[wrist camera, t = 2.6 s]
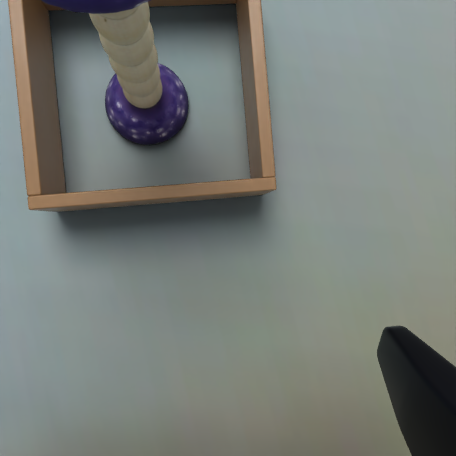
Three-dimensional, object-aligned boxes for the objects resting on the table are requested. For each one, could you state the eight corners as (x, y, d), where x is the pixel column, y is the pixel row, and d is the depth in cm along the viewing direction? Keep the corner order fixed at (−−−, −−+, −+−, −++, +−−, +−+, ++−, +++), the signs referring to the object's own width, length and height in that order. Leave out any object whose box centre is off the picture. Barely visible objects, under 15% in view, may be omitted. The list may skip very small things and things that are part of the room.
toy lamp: (114, 46, 20) (-226, -723, 4) (203, 63, 21) (250, -561, 4) (100, 137, 20) (-299, -228, 4) (190, 153, 21) (183, -117, 4)
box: (262, 194, 21) (276, 189, 18) (56, 211, 20) (28, 209, 17) (245, -8, 21) (256, -54, 17) (35, -1, 20) (2, -47, 17)
